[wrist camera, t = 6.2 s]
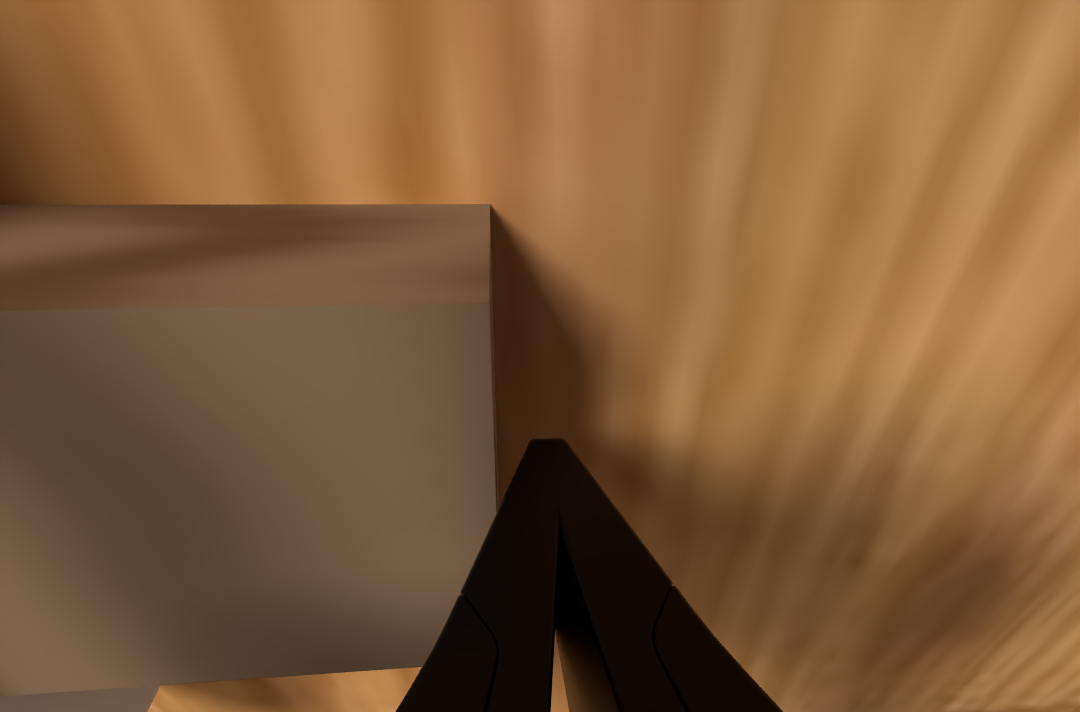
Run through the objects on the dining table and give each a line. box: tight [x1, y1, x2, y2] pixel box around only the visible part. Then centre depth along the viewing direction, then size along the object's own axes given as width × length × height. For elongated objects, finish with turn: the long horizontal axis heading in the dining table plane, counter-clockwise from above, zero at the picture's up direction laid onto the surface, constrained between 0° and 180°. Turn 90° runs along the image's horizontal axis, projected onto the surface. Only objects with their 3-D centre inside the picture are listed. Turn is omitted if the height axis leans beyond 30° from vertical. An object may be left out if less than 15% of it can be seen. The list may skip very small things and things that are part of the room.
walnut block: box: [0, 204, 499, 696], centre depth 9 cm, size 10×8×4 cm
